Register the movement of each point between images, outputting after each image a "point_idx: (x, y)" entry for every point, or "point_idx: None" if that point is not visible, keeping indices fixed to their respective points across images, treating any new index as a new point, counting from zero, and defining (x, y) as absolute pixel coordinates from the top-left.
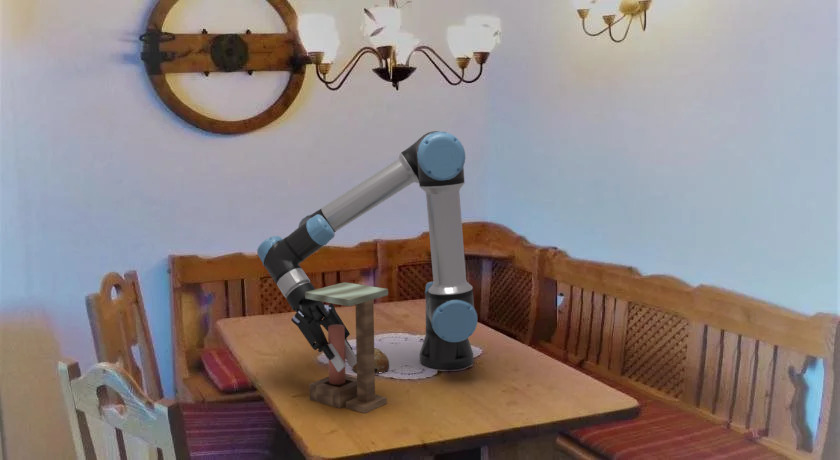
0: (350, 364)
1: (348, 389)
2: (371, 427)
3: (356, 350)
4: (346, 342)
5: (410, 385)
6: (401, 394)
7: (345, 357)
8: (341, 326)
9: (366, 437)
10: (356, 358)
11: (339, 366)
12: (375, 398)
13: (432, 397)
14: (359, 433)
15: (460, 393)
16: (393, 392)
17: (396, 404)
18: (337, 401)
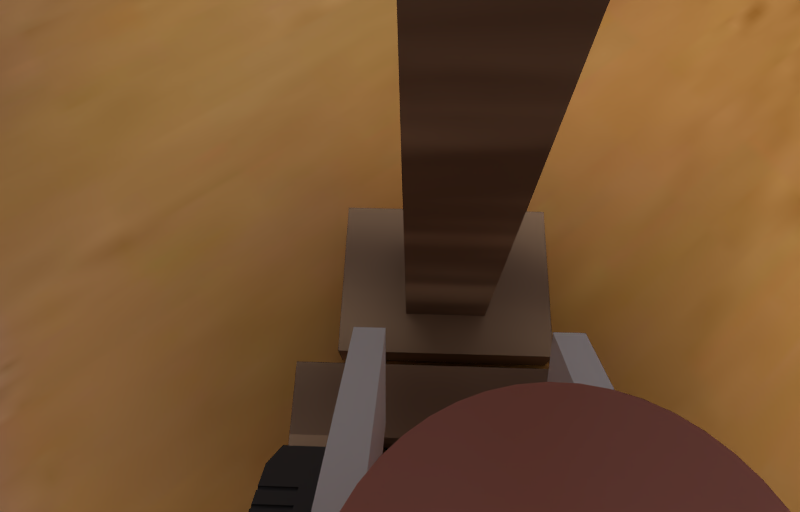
0: (384, 426)
1: (504, 369)
2: (646, 103)
3: (557, 127)
4: (321, 506)
5: (25, 286)
6: (188, 241)
7: None
8: (469, 507)
9: (740, 59)
10: (366, 341)
11: None
12: (399, 246)
13: (159, 98)
14: (734, 103)
15: (52, 32)
16: (179, 296)
17: (335, 177)
18: None
